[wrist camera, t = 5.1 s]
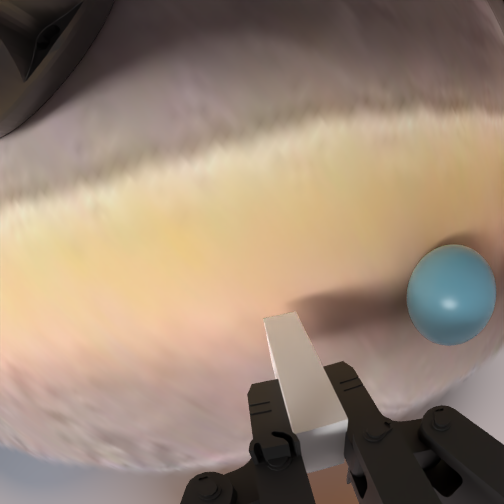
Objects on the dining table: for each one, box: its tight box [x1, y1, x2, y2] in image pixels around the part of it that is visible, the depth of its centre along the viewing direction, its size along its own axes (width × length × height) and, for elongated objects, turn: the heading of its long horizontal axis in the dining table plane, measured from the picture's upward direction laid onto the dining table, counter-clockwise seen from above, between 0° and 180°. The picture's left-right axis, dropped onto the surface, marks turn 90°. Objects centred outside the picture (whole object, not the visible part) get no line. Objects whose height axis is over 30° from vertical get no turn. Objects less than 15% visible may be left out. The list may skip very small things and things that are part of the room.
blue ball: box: [407, 244, 496, 346], centre depth 13 cm, size 6×6×6 cm
